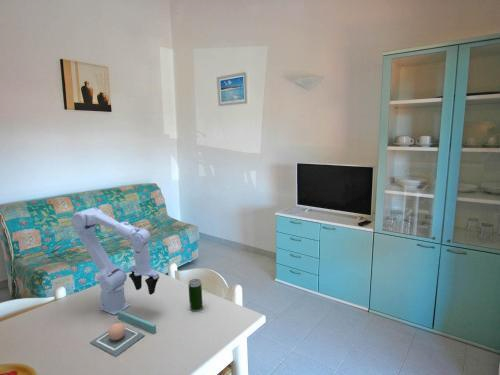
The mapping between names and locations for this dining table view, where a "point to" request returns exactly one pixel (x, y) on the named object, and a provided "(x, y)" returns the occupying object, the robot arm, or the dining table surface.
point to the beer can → (195, 294)
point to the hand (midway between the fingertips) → (145, 291)
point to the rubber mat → (117, 342)
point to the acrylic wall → (137, 321)
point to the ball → (116, 331)
